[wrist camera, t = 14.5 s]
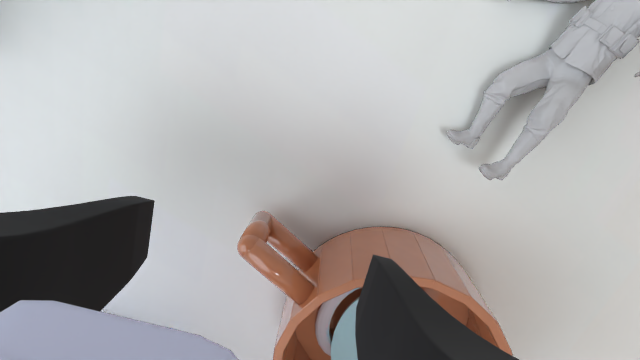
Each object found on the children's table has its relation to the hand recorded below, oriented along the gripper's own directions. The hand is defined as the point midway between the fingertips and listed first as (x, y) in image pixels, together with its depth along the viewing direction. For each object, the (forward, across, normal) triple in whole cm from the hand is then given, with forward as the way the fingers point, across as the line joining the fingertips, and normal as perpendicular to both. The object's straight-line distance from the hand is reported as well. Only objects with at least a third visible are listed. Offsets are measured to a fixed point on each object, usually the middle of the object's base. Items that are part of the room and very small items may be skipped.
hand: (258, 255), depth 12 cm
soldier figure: (+10, -11, -9) cm, 17 cm away
